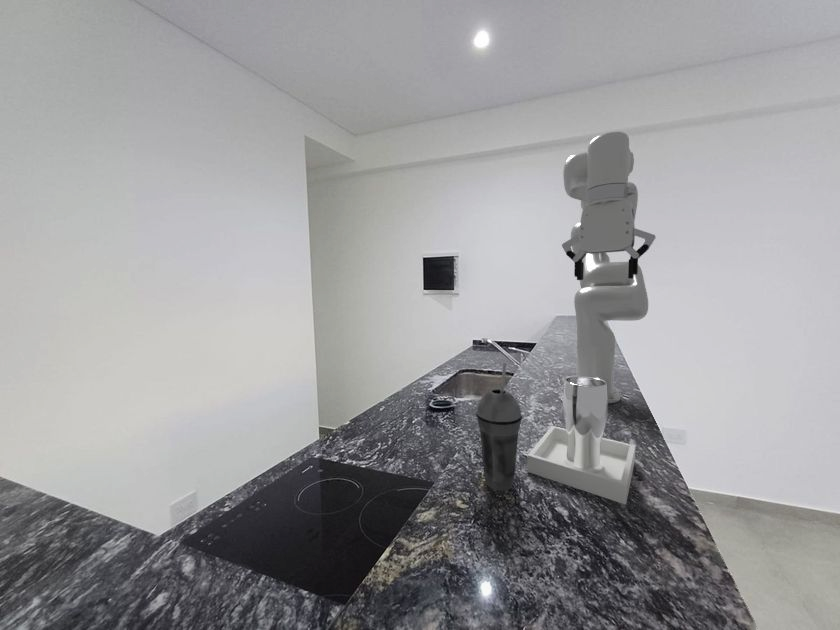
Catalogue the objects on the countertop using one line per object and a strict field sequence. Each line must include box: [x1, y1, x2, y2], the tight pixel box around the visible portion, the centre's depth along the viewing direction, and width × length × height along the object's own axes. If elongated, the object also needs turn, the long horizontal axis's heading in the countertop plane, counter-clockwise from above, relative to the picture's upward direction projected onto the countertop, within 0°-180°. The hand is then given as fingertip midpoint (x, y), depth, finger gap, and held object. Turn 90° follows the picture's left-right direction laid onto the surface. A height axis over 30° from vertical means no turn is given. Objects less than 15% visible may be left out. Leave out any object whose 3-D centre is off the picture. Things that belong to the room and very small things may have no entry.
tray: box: [526, 425, 636, 505], centre depth 57 cm, size 15×15×3 cm
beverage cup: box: [475, 362, 523, 492], centre depth 53 cm, size 7×7×20 cm
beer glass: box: [562, 375, 609, 473], centre depth 57 cm, size 7×7×15 cm
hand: (604, 279), depth 69 cm, fingers open, 9 cm apart
